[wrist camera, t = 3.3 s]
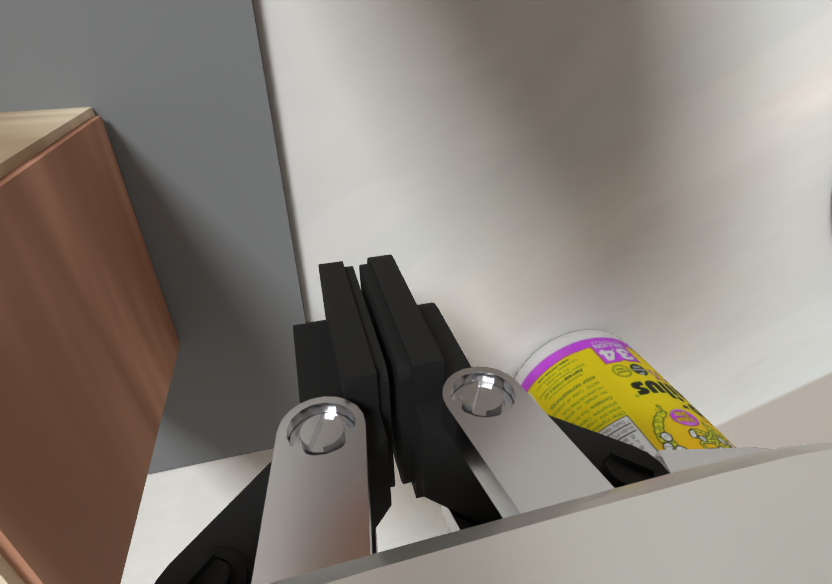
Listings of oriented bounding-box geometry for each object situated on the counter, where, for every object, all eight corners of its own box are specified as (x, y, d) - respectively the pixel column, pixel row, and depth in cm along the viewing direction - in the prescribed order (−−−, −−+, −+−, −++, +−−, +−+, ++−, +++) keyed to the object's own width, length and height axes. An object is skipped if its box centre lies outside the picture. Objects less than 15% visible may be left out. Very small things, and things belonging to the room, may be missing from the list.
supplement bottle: (645, 363, 25) (924, 630, 14) (550, 443, 26) (741, 740, 16) (583, 298, 22) (890, 587, 11) (476, 394, 23) (659, 734, 12)
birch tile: (100, 106, 13) (-205, 303, 4) (182, 345, 17) (103, 674, 9) (-41, 114, 12) (-707, 366, 4) (81, 361, 16) (-109, 735, 8)
